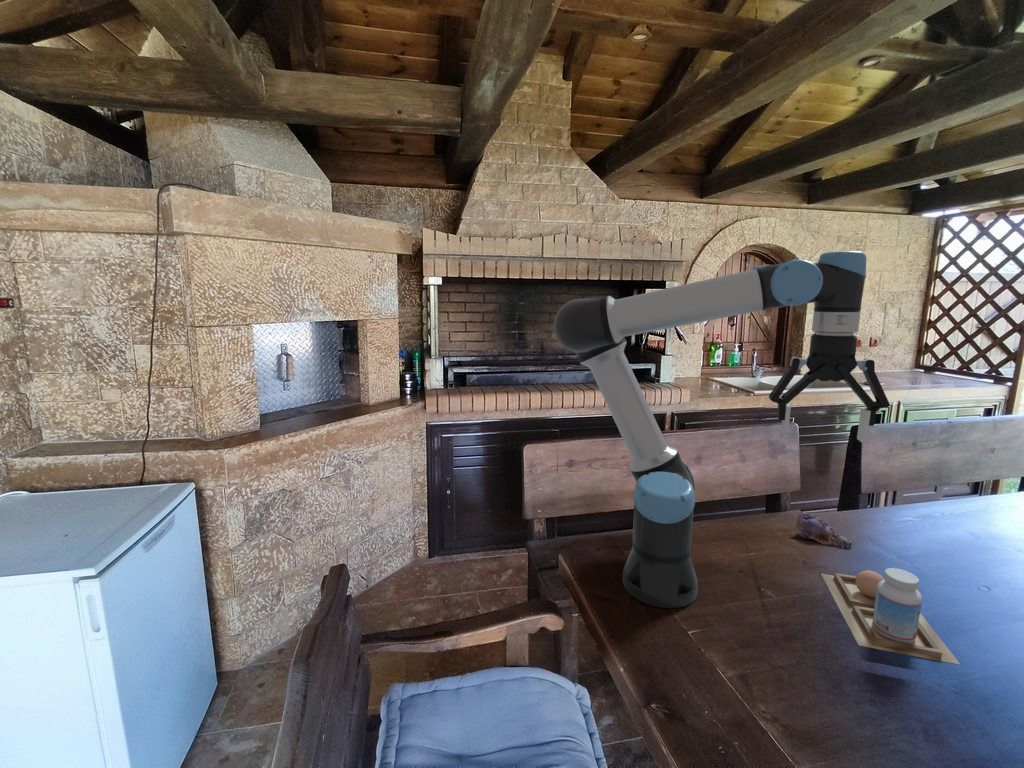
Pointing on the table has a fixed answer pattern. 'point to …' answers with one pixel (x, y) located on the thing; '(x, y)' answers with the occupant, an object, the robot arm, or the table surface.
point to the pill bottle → (897, 606)
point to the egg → (868, 582)
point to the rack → (860, 619)
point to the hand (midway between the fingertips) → (822, 438)
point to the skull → (819, 531)
